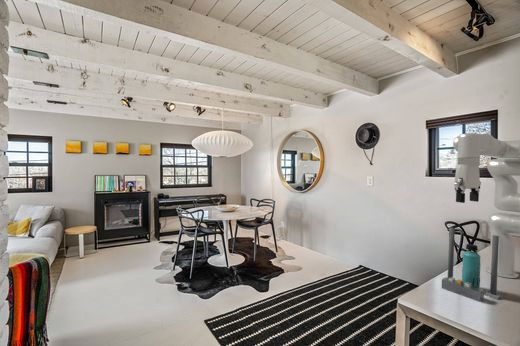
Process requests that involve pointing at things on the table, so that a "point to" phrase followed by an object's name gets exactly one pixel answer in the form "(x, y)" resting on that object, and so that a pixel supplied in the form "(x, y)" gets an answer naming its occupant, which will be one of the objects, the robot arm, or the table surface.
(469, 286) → the pdu strip
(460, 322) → the table surface
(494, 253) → the cord post
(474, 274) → the beverage bottle
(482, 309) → the table surface
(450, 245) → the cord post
